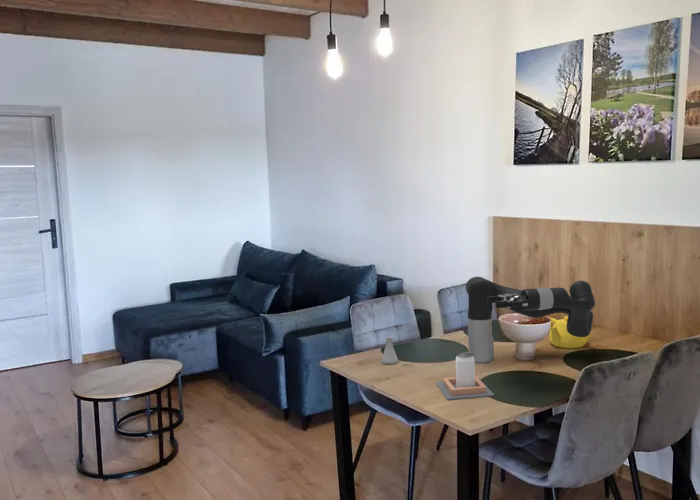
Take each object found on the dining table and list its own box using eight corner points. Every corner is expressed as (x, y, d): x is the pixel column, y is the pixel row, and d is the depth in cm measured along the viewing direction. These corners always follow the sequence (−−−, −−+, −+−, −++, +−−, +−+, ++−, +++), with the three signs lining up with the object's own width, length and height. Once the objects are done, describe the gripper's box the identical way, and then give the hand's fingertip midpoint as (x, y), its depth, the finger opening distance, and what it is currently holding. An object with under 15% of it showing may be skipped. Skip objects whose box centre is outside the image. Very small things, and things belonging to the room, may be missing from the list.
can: (454, 385, 214) (453, 352, 212) (472, 384, 214) (471, 351, 212) (458, 391, 207) (457, 357, 206) (477, 390, 207) (476, 356, 206)
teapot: (592, 350, 248) (592, 321, 246) (550, 350, 251) (550, 321, 249) (584, 339, 264) (584, 312, 263) (544, 339, 267) (544, 312, 266)
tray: (479, 380, 219) (479, 373, 219) (494, 396, 203) (493, 388, 203) (436, 383, 218) (435, 376, 217) (447, 400, 202) (447, 392, 202)
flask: (397, 365, 241) (396, 340, 240) (379, 364, 242) (378, 340, 241) (399, 359, 248) (399, 335, 247) (382, 359, 249) (381, 335, 248)
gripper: (545, 314, 204) (498, 317, 203) (529, 305, 218) (485, 308, 217) (545, 292, 203) (498, 295, 202) (528, 284, 217) (484, 287, 216)
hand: (491, 302), depth 209 cm, fingers open, 8 cm apart
